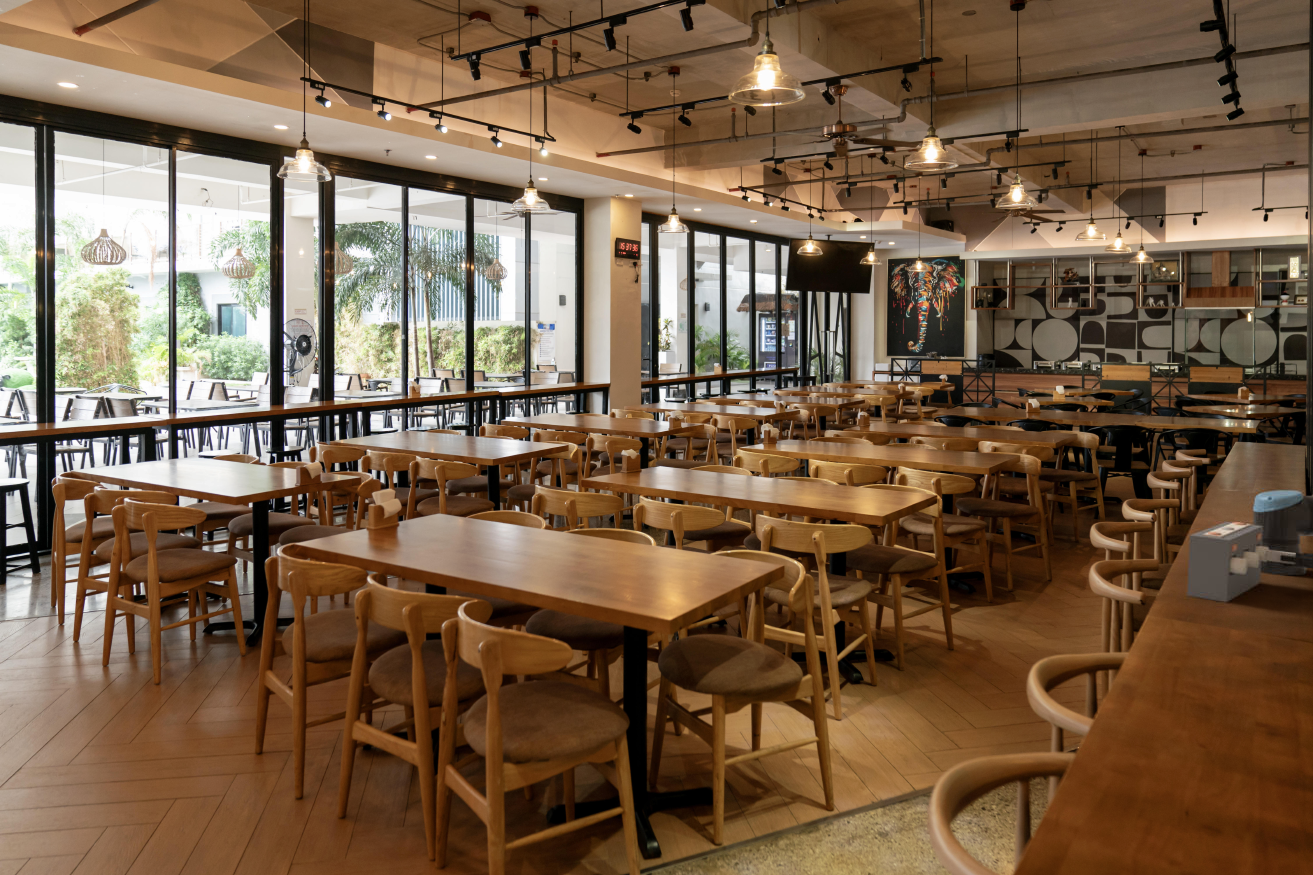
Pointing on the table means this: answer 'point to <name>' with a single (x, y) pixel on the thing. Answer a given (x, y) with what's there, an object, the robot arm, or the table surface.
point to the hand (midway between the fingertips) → (1267, 555)
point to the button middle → (1252, 558)
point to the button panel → (1222, 561)
